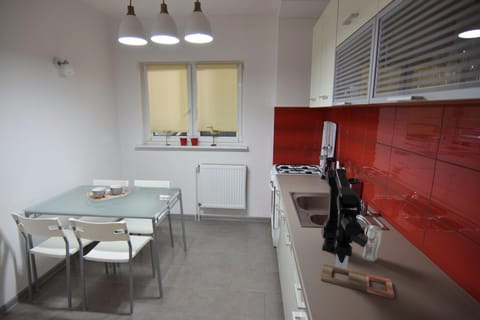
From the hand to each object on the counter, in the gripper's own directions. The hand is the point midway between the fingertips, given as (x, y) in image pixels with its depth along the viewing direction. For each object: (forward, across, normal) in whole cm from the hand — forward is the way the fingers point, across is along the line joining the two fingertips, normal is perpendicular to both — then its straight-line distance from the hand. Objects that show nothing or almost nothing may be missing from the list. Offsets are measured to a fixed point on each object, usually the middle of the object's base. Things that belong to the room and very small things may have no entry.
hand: (341, 259), depth 108 cm
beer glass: (+8, +21, -12) cm, 26 cm away
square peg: (+3, 0, 0) cm, 3 cm away
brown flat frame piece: (+8, 0, -6) cm, 10 cm away
